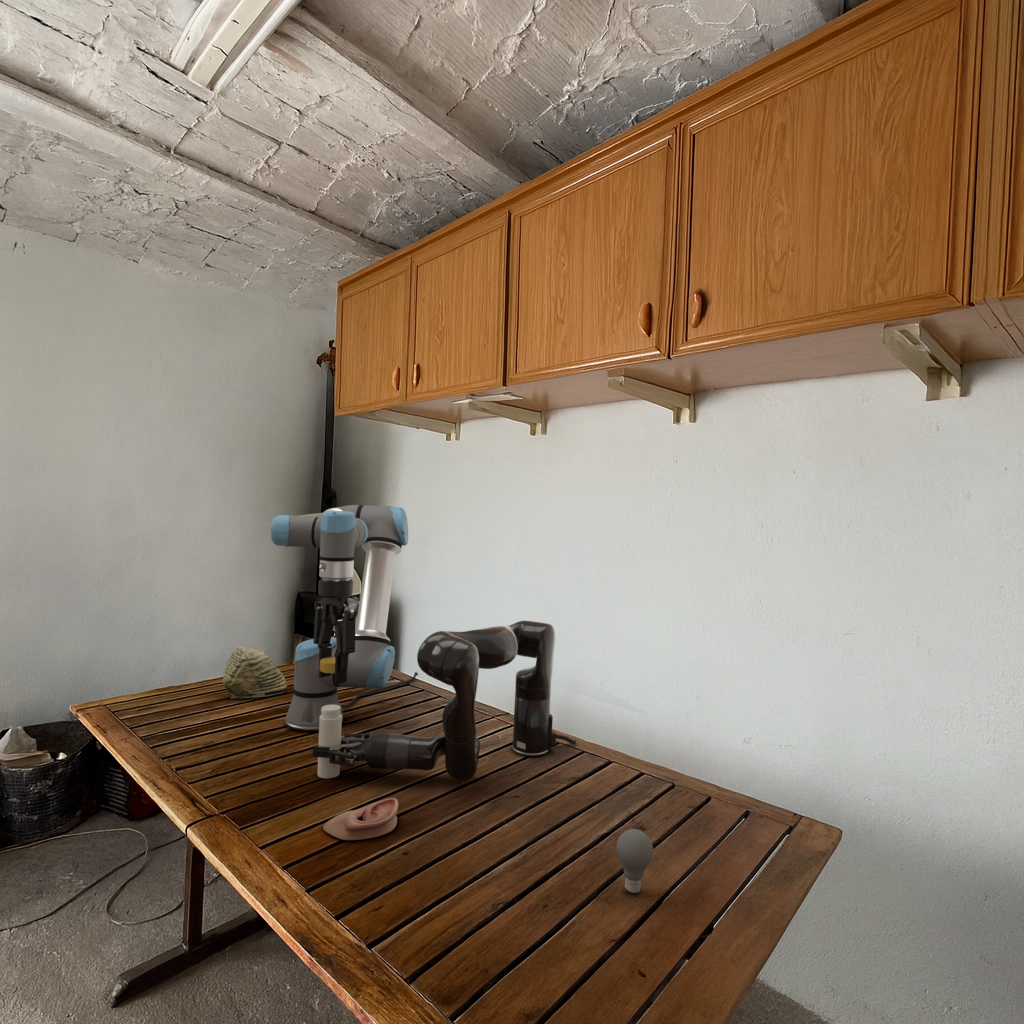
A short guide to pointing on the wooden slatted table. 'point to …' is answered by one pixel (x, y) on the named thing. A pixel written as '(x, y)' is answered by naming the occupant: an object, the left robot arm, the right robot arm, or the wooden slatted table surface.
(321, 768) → the bottle
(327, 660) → the lid
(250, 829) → the wooden slatted table surface
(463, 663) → the right robot arm
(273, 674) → the fossil
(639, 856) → the light bulb
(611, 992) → the wooden slatted table surface
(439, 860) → the wooden slatted table surface
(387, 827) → the anatomical model
